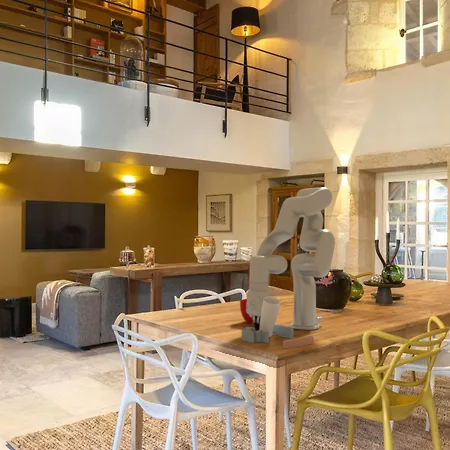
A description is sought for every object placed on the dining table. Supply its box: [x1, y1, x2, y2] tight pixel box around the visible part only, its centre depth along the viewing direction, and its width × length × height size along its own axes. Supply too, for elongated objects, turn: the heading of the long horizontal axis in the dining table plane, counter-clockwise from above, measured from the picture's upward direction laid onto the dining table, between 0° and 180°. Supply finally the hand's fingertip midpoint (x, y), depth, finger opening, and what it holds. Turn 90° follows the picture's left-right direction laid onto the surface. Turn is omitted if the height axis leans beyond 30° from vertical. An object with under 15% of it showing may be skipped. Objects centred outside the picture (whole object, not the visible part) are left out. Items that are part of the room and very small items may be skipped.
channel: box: [241, 323, 315, 349], centre depth 195 cm, size 18×23×4 cm
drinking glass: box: [259, 296, 281, 338], centre depth 199 cm, size 7×7×15 cm
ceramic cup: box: [239, 298, 261, 325], centre depth 233 cm, size 13×17×10 cm
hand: (258, 332), depth 205 cm, fingers closed
